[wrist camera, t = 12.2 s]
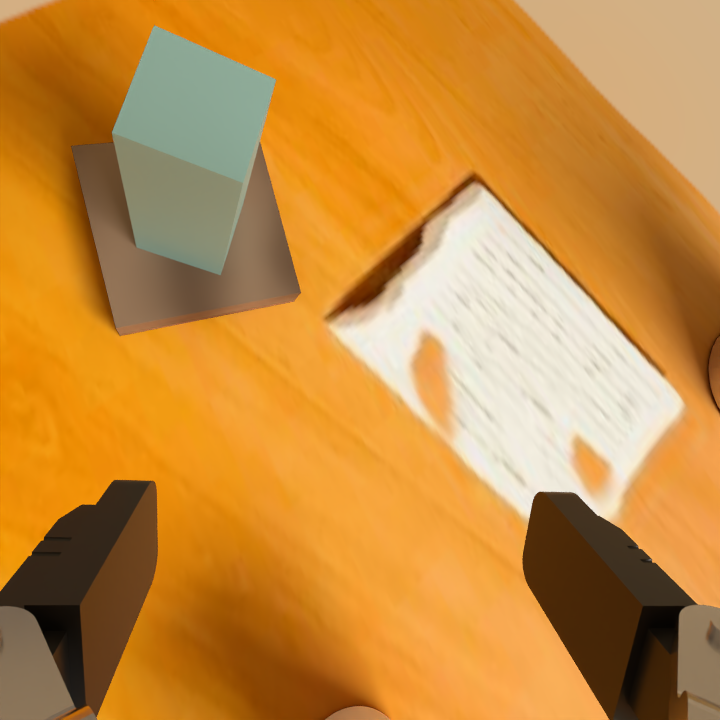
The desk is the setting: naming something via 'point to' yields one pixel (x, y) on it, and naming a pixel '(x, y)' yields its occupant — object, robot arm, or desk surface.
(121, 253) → the base
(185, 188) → the pillar
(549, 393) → the desk surface
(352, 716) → the mug
